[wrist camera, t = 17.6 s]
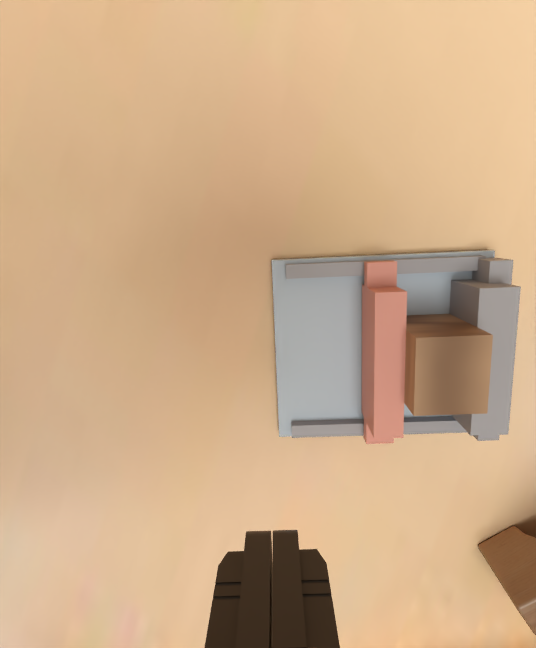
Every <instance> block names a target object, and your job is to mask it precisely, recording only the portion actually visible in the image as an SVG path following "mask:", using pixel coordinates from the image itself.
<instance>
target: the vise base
mask: <svg viewBox="0 0 536 648" xmlns="http://www.w3.org/2000/svg"><path fill="white" fill-rule="evenodd" d="M494 254H495V251H494V250H475V251H453V252H430V253H408V254H385V255H363V256H340V257H318V258H295V259H273V260H272V279H273V303H274V326H275V349H276V372H277V395H278V418H279V437H285V436H292V438H298V437H330V436H363V435H364V416H363V414H362V284H364V262H370V261H397V287H399V288H401V289H403V290H405V291H407V315H429V314H451V315H453V316H455V317H457V318H459V319H461V320H463V321H465V322H467V323H470V324H472V325H474V326H476V327H478V328H480V329H482V330H484V331H486V332H488V333H490V334H492V335H493V343H492V356H491V370H490V384H489V398H488V412H487V414H458V415H426V416H413V414H412V413H411V412H410V410H409V409H408V407H407V406H406V405H405V403H404V432H403V434H429V433H462V432H468V433H469V434H470V435H473V436H474V437H475V438H476V439H477V440H478V441H485V440H499V435H503V434H508V430H509V419H510V407H511V395H512V383H513V371H514V359H515V348H516V336H517V324H518V312H519V300H520V288H521V287H519V286H515V285H511V282H512V269H513V260H509V259H501V258H494Z"/></svg>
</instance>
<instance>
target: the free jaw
mask: <svg viewBox="0 0 536 648" xmlns="http://www.w3.org/2000/svg"><path fill="white" fill-rule="evenodd" d="M406 317H407V291H405V290H403V289H401V288H399V287H397V261H370V262H364V284H362V414H363V416H364V439H365V442H366V444H376V443H393V441H394V438H403V432H404V394H405V355H406Z"/></svg>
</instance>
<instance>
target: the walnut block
mask: <svg viewBox="0 0 536 648" xmlns="http://www.w3.org/2000/svg"><path fill="white" fill-rule="evenodd" d="M492 343H493V335H492V334H490V333H488V332H486V331H484V330H482V329H480V328H478V327H476V326H474V325H472V324H470V323H467V322H465V321H463V320H461V319H459V318H457V317H455V316H453V315H451V314H429V315H407V317H406V355H405V394H404V403H405V405H406V406H407V407H408V409H409V410H410V412H411V413H412V414H413V416H426V415H458V414H487V412H488V398H489V384H490V370H491V356H492Z"/></svg>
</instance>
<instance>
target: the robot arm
mask: <svg viewBox="0 0 536 648" xmlns="http://www.w3.org/2000/svg"><path fill="white" fill-rule="evenodd" d="M205 648H340V646H339V640H338V633H337V627H336V621H335V614H334V608H333V602H332V597H331V589H330V583H329V577H328V570H327V564H326V562H325V560H324V559H323V558H322V556H321V555H320V553H319V552H318V550H317V549H307V550H299V544H298V532H297V530H278V531H273V562H272V541H271V531H247V532H246V538H245V548H244V551H237V552H227V554H226V555H225V557H224V558H223V560H222V561H221V563H220V564H219V566H218V571H217V577H216V585H215V589H214V595H213V601H212V607H211V613H210V619H209V625H208V631H207V637H206V643H205Z"/></svg>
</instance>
